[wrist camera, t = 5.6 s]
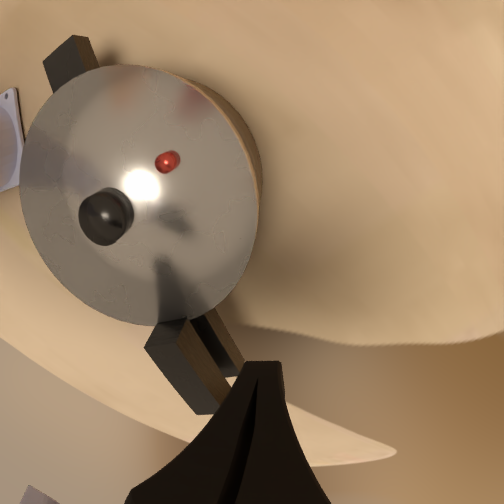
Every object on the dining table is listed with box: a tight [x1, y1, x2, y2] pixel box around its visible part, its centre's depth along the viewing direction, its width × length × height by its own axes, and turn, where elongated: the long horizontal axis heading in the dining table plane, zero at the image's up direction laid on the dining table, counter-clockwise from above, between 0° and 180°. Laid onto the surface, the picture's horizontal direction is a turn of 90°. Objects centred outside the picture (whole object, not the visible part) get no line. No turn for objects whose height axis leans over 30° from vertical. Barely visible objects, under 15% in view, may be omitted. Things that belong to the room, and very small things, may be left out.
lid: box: [19, 64, 259, 415], centre depth 14 cm, size 14×19×3 cm
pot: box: [43, 35, 262, 378], centre depth 17 cm, size 13×22×4 cm, turn 7°
